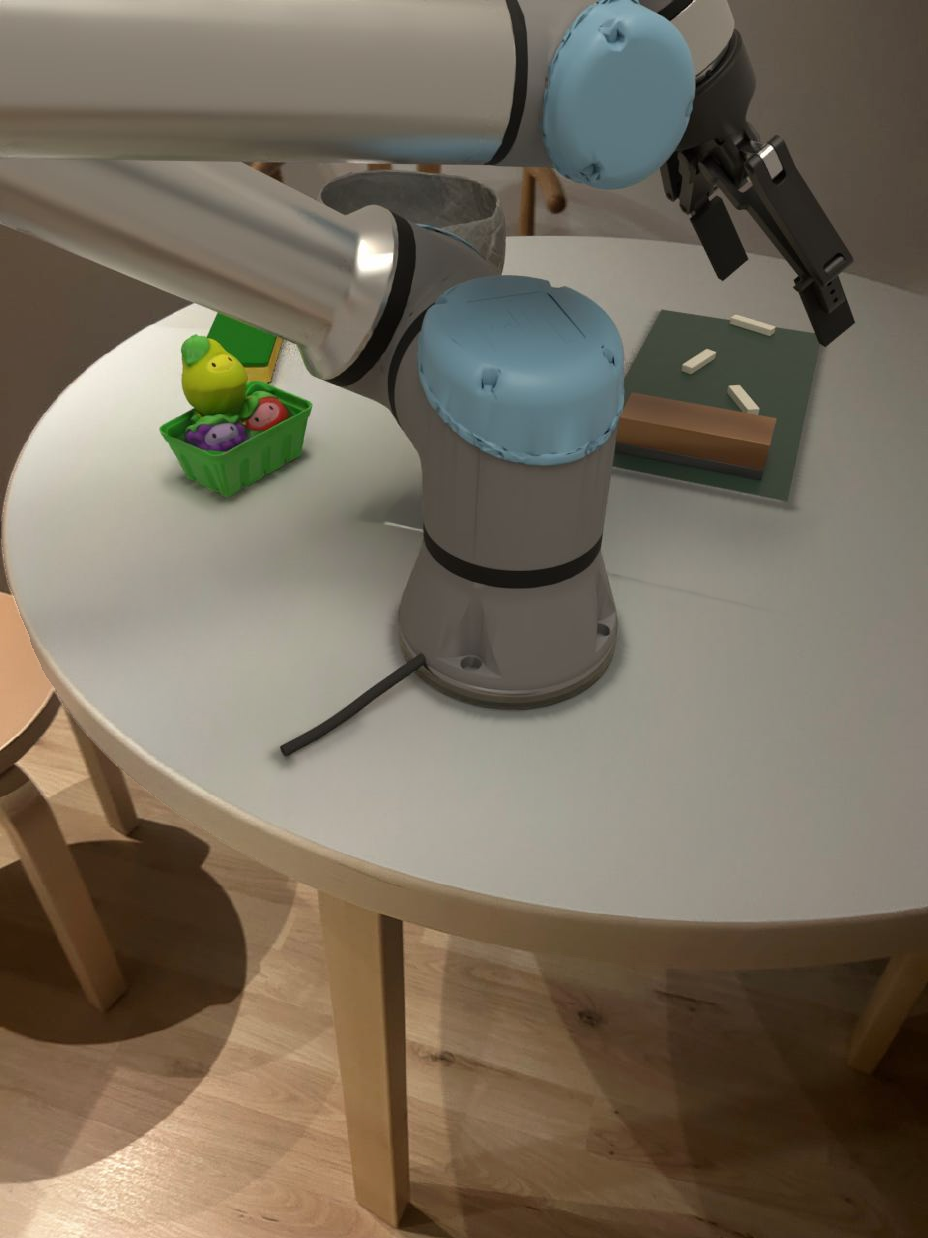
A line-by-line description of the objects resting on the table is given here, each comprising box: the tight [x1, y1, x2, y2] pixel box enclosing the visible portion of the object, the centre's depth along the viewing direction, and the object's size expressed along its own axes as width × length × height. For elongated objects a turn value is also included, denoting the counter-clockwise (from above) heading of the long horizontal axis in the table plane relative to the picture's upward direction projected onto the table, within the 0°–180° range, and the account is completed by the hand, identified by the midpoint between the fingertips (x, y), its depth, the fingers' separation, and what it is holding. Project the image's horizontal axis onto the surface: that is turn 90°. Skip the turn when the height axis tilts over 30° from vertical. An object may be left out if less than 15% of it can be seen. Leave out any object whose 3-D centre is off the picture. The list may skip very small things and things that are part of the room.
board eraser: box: [615, 393, 777, 480], centre depth 85 cm, size 5×13×4 cm, turn 70°
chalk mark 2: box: [681, 349, 716, 374], centre depth 100 cm, size 5×1×1 cm, turn 140°
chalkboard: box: [612, 309, 821, 502], centre depth 96 cm, size 36×18×1 cm, turn 160°
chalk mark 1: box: [727, 385, 760, 415], centre depth 93 cm, size 5×1×1 cm, turn 10°
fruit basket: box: [158, 333, 314, 498], centre depth 81 cm, size 11×9×11 cm
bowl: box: [314, 169, 507, 275], centre depth 101 cm, size 20×20×15 cm
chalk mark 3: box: [729, 314, 777, 336], centre depth 107 cm, size 5×1×1 cm, turn 50°
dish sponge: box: [205, 312, 284, 384], centre depth 101 cm, size 7×14×2 cm, turn 1°
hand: (782, 299), depth 76 cm, fingers open, 13 cm apart
